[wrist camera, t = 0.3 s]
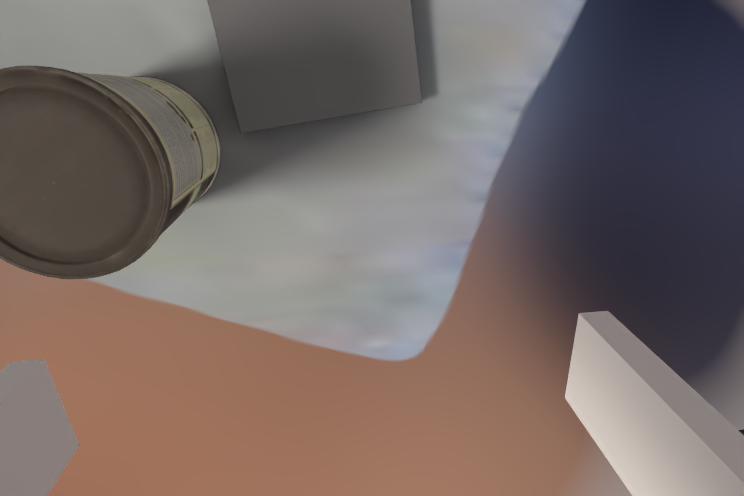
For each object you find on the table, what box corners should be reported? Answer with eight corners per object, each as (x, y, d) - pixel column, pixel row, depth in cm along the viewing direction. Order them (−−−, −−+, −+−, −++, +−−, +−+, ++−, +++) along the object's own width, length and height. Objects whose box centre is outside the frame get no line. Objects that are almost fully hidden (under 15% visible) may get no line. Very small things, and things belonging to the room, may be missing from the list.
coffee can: (203, 228, 37) (142, 303, 24) (69, 185, 35) (-80, 244, 22) (238, 107, 34) (192, 117, 21) (96, 52, 32) (-57, 25, 19)
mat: (182, -115, 29) (176, -126, 28) (390, -143, 30) (393, -154, 29) (243, 131, 35) (240, 133, 34) (417, 102, 36) (421, 102, 34)
